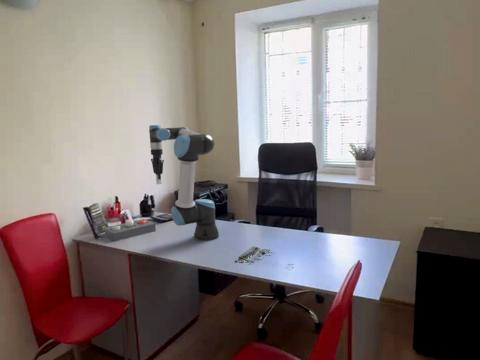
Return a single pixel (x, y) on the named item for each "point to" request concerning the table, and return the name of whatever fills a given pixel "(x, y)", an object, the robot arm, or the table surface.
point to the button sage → (115, 228)
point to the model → (252, 252)
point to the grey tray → (129, 230)
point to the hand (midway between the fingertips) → (158, 184)
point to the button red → (142, 222)
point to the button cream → (129, 223)
